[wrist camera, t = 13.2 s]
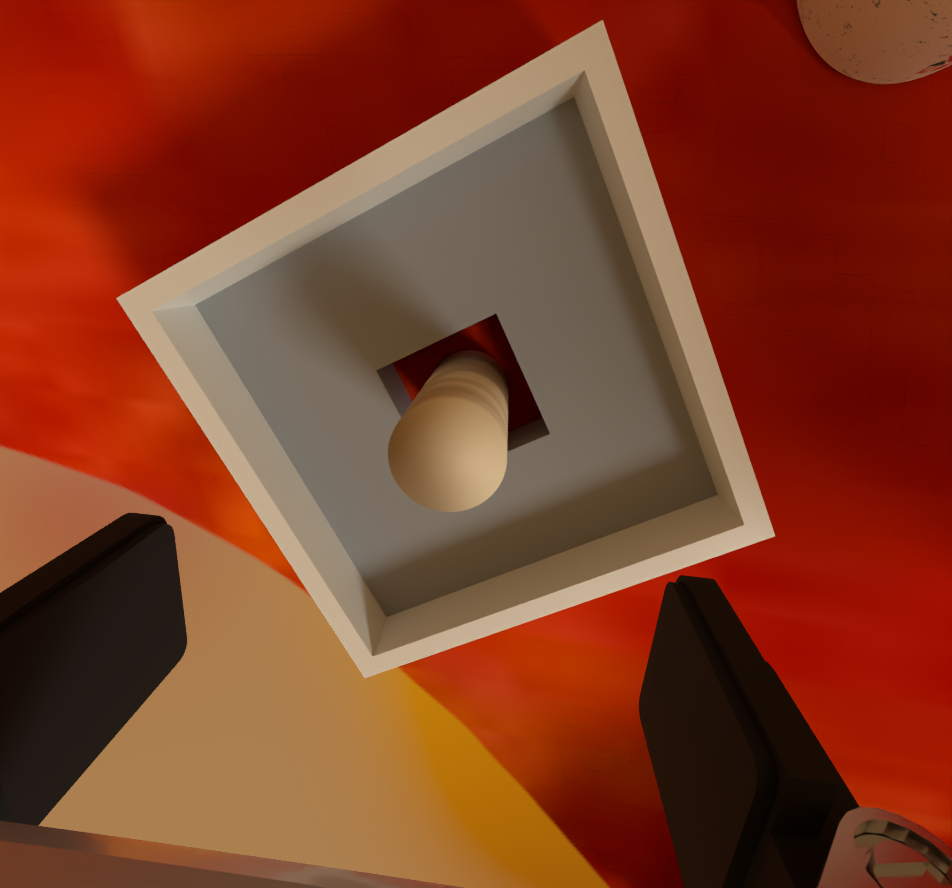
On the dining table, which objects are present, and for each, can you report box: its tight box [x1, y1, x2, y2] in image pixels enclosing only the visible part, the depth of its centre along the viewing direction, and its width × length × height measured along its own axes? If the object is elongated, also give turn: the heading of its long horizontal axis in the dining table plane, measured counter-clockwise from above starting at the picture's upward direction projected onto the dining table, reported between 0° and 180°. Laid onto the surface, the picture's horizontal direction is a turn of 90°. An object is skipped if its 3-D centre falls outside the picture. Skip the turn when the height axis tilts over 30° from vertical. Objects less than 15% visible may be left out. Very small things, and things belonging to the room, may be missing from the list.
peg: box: [388, 350, 509, 512], centre depth 22 cm, size 4×4×10 cm
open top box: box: [116, 20, 775, 678], centre depth 24 cm, size 20×20×6 cm
